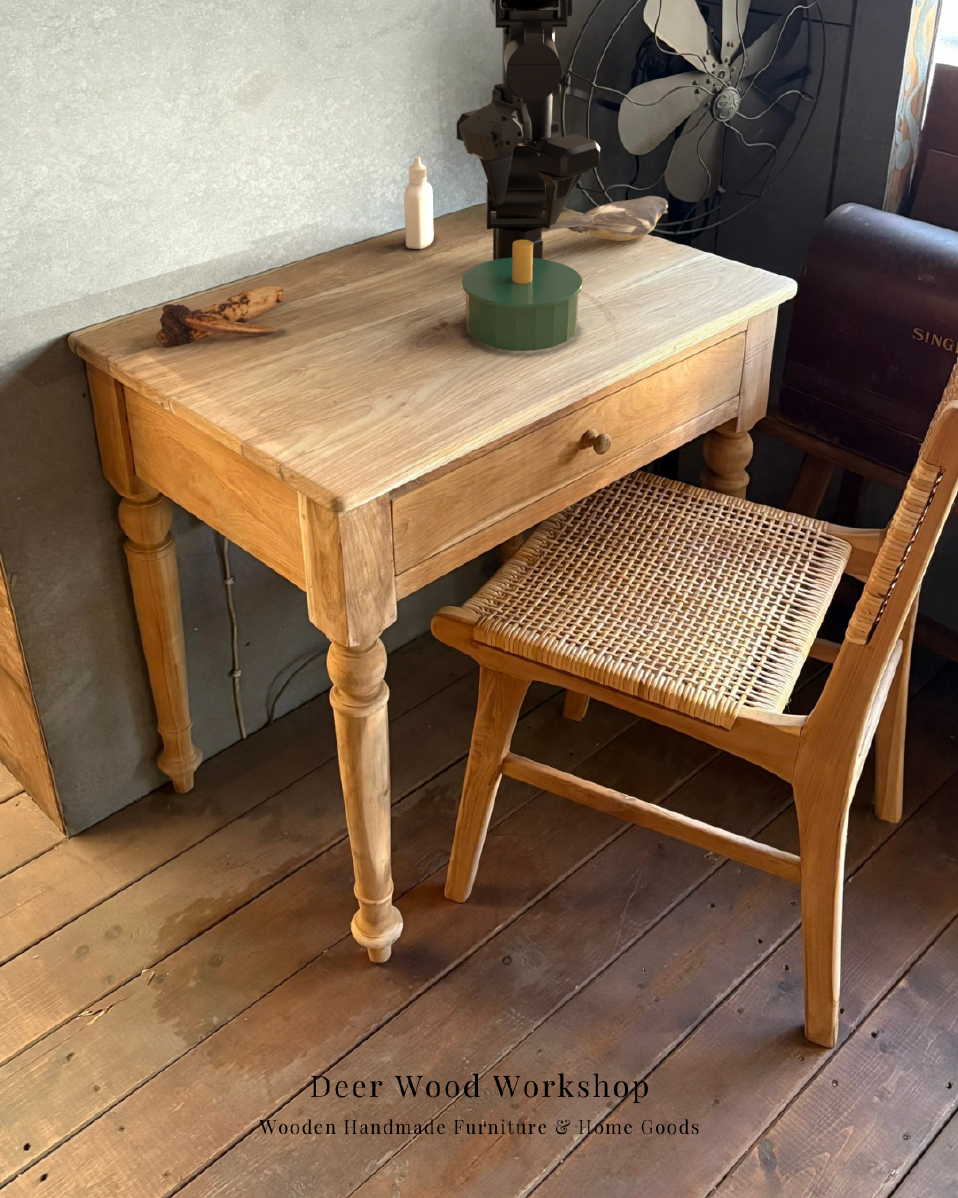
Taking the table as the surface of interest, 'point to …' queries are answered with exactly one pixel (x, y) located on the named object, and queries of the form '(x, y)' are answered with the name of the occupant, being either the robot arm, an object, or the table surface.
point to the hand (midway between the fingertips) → (524, 213)
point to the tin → (521, 325)
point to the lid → (522, 280)
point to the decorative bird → (618, 219)
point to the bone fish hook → (218, 317)
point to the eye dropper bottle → (418, 208)
